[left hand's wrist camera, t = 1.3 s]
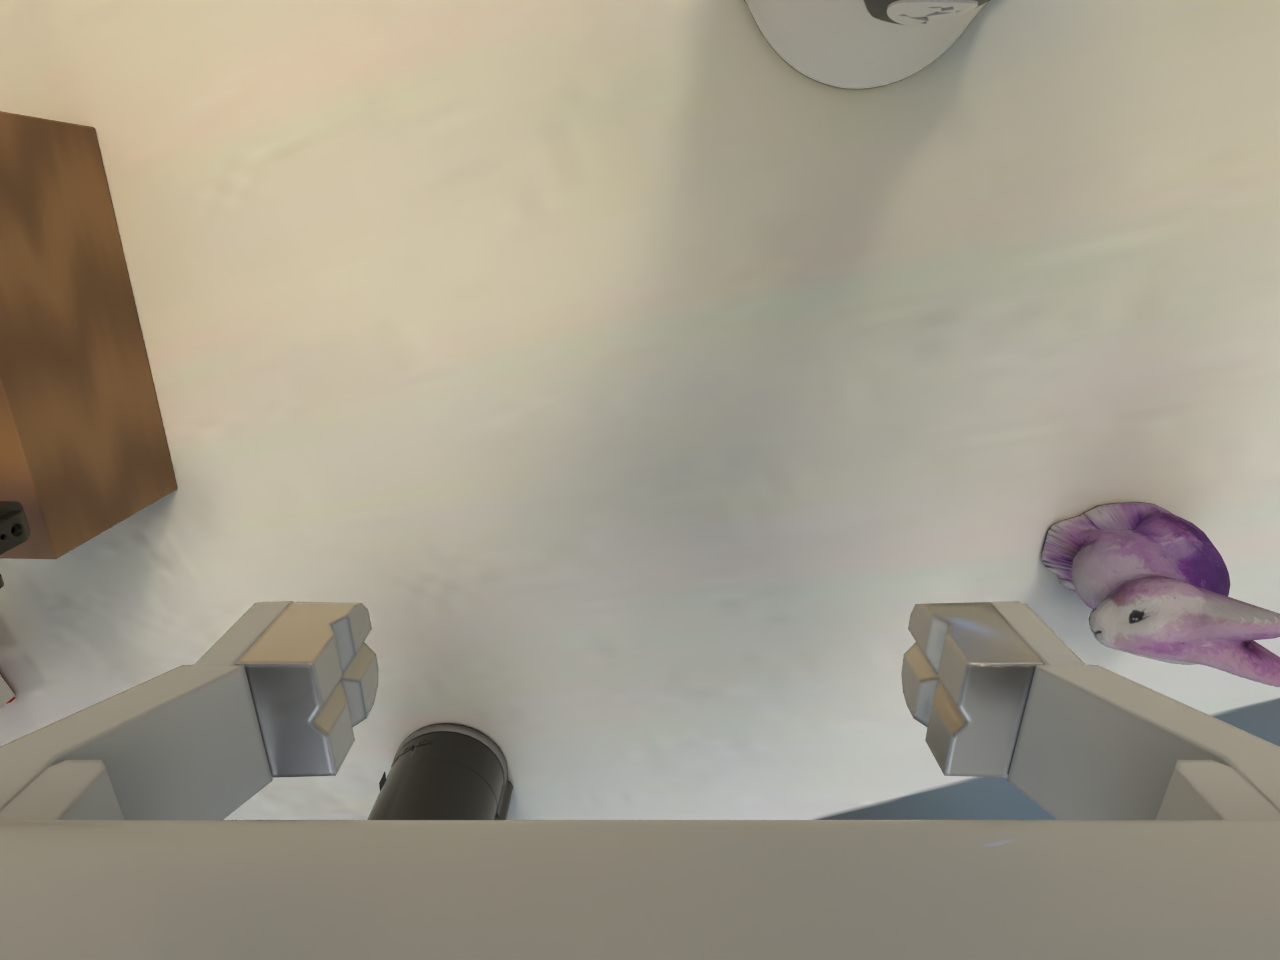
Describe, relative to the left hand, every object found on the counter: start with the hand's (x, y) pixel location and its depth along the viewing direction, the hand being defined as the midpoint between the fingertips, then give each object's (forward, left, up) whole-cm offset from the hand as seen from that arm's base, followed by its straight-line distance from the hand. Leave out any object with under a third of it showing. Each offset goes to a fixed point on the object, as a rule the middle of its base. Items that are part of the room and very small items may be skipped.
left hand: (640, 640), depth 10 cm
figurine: (+16, +34, -38) cm, 53 cm away
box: (+1, -36, -38) cm, 52 cm away
